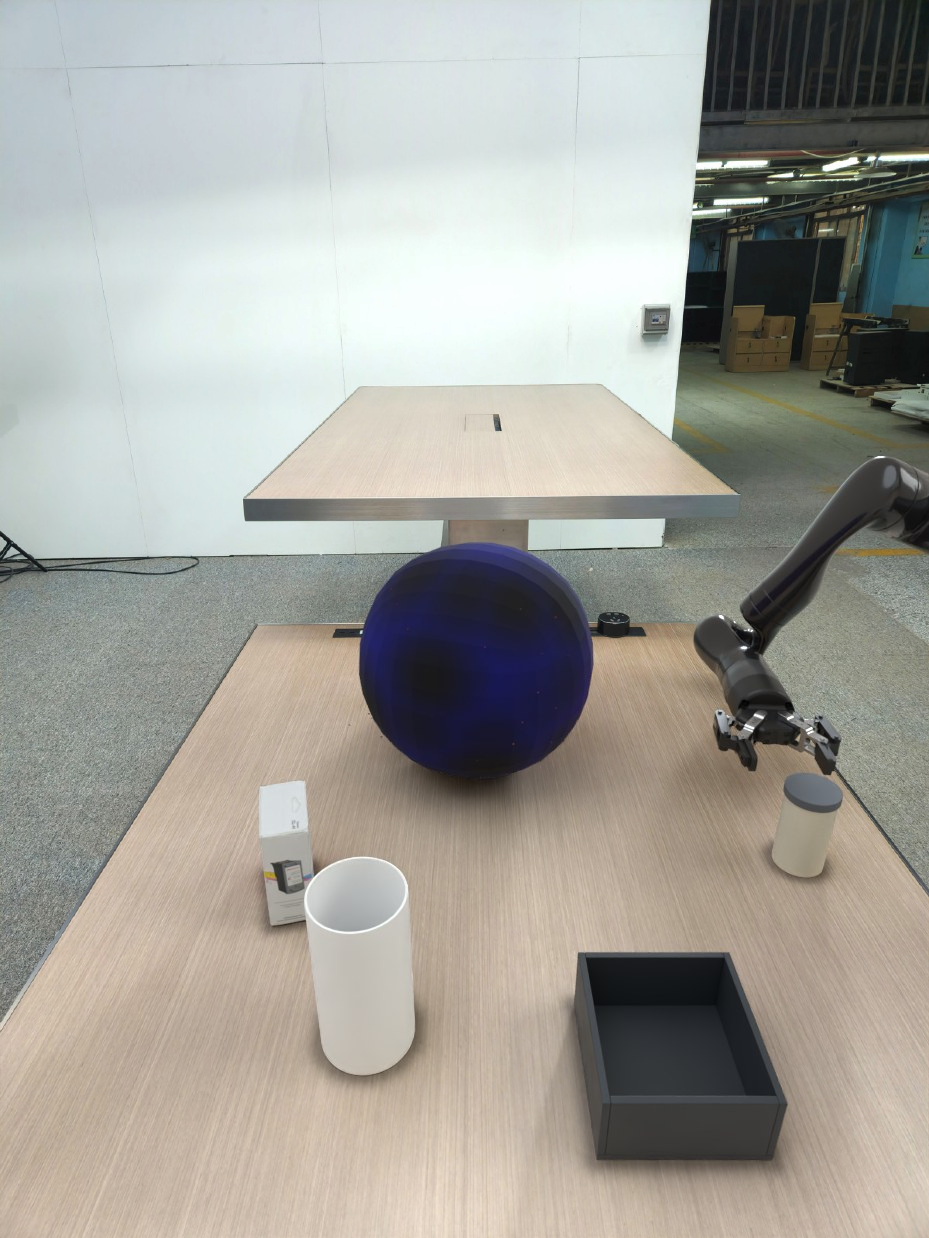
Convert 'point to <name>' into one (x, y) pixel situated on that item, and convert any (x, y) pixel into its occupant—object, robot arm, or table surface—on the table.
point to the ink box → (285, 849)
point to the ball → (476, 660)
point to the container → (806, 823)
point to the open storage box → (674, 1059)
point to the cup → (361, 963)
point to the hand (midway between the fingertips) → (791, 767)
